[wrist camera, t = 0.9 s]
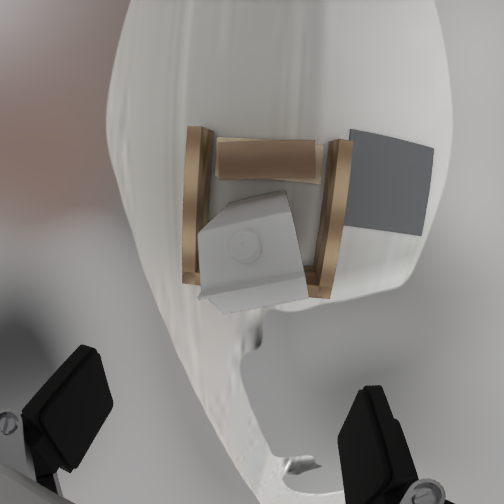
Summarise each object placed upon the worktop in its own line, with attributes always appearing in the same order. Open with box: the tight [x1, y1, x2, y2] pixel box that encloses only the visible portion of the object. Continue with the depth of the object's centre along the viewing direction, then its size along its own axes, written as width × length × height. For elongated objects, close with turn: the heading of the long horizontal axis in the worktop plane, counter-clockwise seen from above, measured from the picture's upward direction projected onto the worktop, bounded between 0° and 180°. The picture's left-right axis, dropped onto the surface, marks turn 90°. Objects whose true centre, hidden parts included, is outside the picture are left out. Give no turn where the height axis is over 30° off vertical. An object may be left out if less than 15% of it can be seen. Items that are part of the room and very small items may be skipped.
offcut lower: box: [215, 137, 324, 184], centre depth 33 cm, size 4×12×3 cm, turn 86°
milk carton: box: [198, 190, 309, 314], centre depth 27 cm, size 7×7×19 cm
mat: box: [343, 129, 434, 236], centre depth 33 cm, size 12×12×1 cm
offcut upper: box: [218, 140, 316, 180], centre depth 30 cm, size 4×10×3 cm, turn 92°
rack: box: [182, 126, 353, 299], centre depth 33 cm, size 18×17×6 cm
